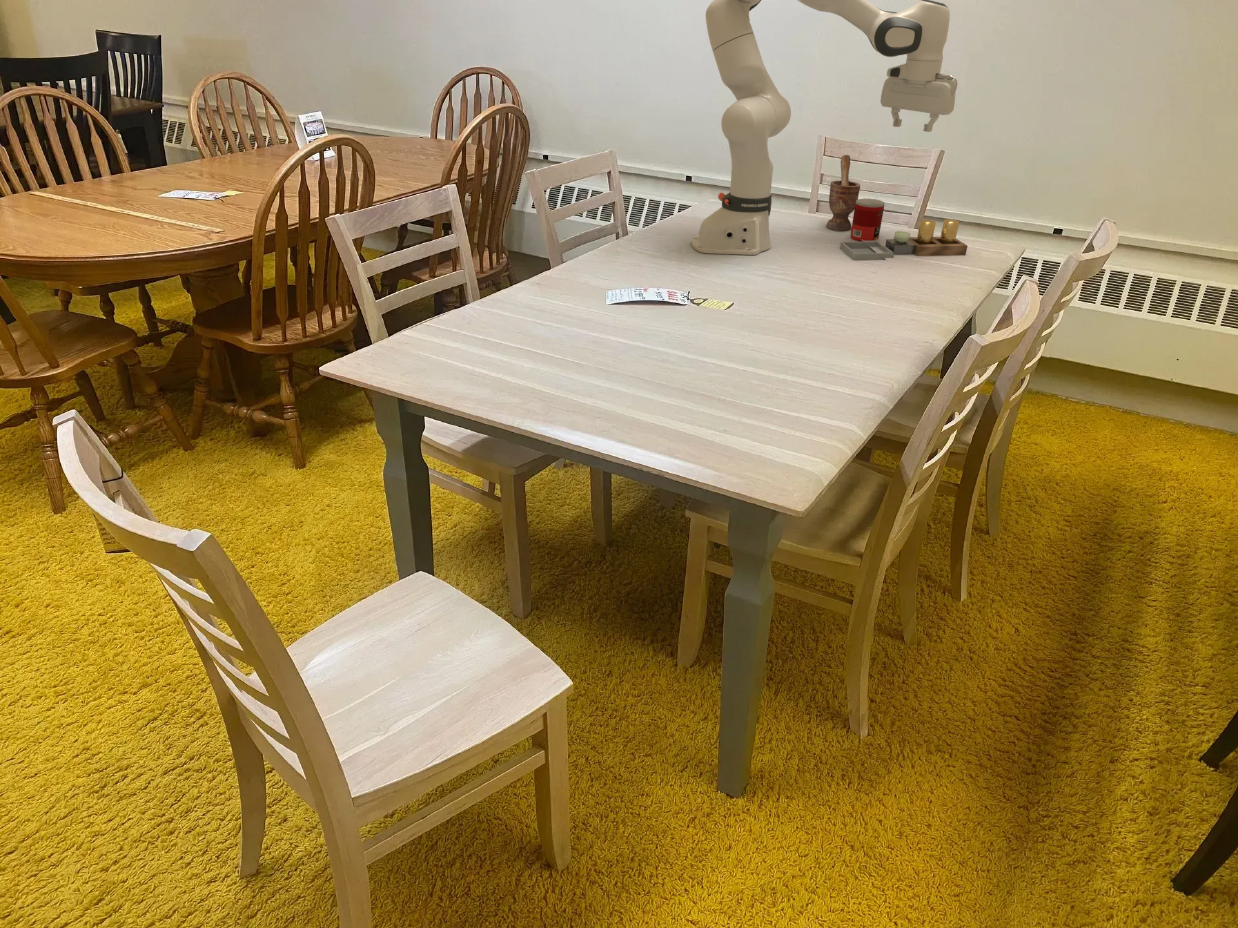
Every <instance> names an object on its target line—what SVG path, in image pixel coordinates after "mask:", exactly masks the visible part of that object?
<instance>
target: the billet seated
mask: <svg viewBox="0 0 1238 928" xmlns="http://www.w3.org/2000/svg"><path fill="white" fill-rule="evenodd" d="M959 226H960V221H959V220H956V219H954V218H953V219H951V218H949V219H948V218H947V219H944V220H943V224H942V227H941V233H940V236H939V237H940V241H939V242H940V243H941V244H955V240H956V239H957V234H958V231H959V230H958V229H959Z"/></svg>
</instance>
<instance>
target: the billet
mask: <svg viewBox="0 0 1238 928" xmlns="http://www.w3.org/2000/svg"><path fill="white" fill-rule="evenodd" d="M936 224H937V221H935V220H933V219H921V220H920V222H919V226H918V227H919V228H918V232H917V236H916V237H917V241H916V243H918V244H919V245H926V244H932V239H933V237H934V234H935V228H936Z"/></svg>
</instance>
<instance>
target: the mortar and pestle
mask: <svg viewBox="0 0 1238 928" xmlns="http://www.w3.org/2000/svg"><path fill="white" fill-rule="evenodd" d="M850 168H851V156H850V154H849V155H847V154H845V155H844V154H843V155H842V156H841V158H840V173H841V174H840V175H841V180H832V181H831V182H830V187H829V196H828V202H829V203H828V204H829V205H828V206H829V210H830V212H831V213H832V215H833V216H832V218H831V219H829V220H828V221H827V223H826V228H828V229H830V230H833V231H837V232H839V231H840V232H841V231H848V230H850V231H851V229H852V223H851V221H850V219H849V216H850V215H851V214H852V213H854V209H855V203H856V200H858V199H859V194H860V190H861V184H860V183H859V182H856V181H850V180H849V177H850V176H849V174H850V173H849V172H850Z"/></svg>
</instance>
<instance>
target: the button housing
mask: <svg viewBox="0 0 1238 928" xmlns="http://www.w3.org/2000/svg"><path fill="white" fill-rule="evenodd" d="M884 246H885V247H887V248H888V249H889V250H891V251H892V252H893V253H894V256H897V255H899V256H901V255H902V256H903V255H905V256H906V255H908V256H909V255H914V253H915V248H916V245H915V244H914V243H912V242H911V241H908V242H904V243H902V244H898V241H895V240H894V238H891V239H890V238H887V239H885V245H884Z"/></svg>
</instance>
